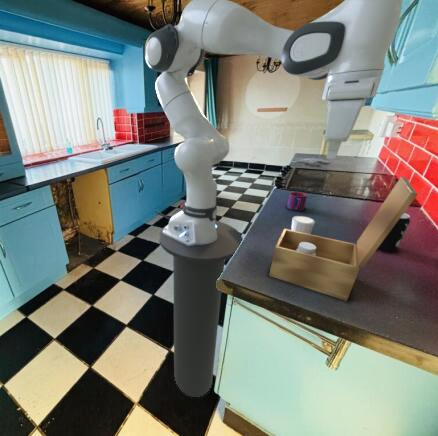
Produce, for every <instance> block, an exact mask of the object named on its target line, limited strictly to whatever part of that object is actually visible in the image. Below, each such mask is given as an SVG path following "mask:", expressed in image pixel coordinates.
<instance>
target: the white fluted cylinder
mask: <svg viewBox="0 0 438 436" xmlns="http://www.w3.org/2000/svg"><path fill="white" fill-rule="evenodd" d="M315 223H316V221H315V220H314V219H313V218H311V217H309V216H305V215H295V216H293V217H292V220H291V226H290V227H291V228H290V230H293V231H297V232H302V233H307V234H311V233H312V231H313V228H314V226H315Z"/></svg>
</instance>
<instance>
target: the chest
mask: <svg viewBox="0 0 438 436" xmlns="http://www.w3.org/2000/svg"><path fill="white" fill-rule="evenodd" d="M301 242H308V243H311V244H313V245H315V246H316V251H315V254H316V256H314V255H310V254H306V253H302V252H298V251H296V249H298V246H299V243H301ZM360 269H361V267H360V266H358V252H357V243H353V242H348V241H343V240H338V239H335V238H334V239H333V238H330V237H325V236H322V235H321V236H320V235H315V234H311V233H310V234H307V233H302V232H297V231H293V230H291V229H288V228H283V229H282V232H281V234H280V236H279V238H278V240H277V242H276V245H275V246H274V250H273V256H272V260H271V265H270V270H269V271H270V272H269V277H272V278H273V279H274V278H275V279H277V280H280V281H284V282H286V283H290V284H293V285H296V286H299V287H302V288H304V289H305V288H306V289H308V290H312V291H314V292H316V293H317V292H318V293H320V294H324V295H327V296H330V297H332V298H336V299H339V300H343V301H345V302H348V299H349V297H350V294H351V292H352V289H353V287H354V284H355V282H356V279H357V277H358V274H359V272H360Z"/></svg>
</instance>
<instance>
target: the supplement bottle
mask: <svg viewBox="0 0 438 436" xmlns="http://www.w3.org/2000/svg"><path fill="white" fill-rule="evenodd" d="M296 251H298V252H302V253H306V254H310V255H314V256H316V254H315V251H316V246H315V245H313V244H311V243H308V242H301V243H299V246H298V249H296Z"/></svg>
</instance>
